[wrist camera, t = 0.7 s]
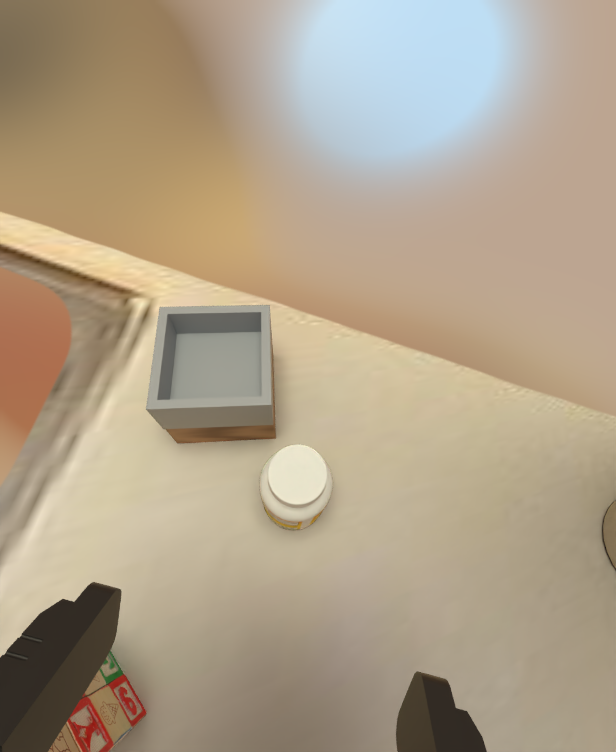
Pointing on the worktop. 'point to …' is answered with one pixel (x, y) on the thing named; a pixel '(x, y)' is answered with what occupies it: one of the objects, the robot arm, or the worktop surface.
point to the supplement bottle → (295, 486)
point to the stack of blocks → (101, 713)
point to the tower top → (212, 367)
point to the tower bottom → (226, 430)
